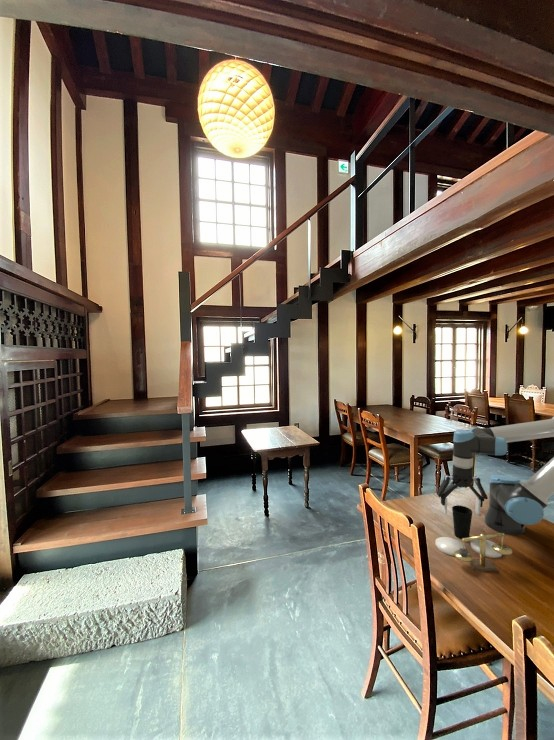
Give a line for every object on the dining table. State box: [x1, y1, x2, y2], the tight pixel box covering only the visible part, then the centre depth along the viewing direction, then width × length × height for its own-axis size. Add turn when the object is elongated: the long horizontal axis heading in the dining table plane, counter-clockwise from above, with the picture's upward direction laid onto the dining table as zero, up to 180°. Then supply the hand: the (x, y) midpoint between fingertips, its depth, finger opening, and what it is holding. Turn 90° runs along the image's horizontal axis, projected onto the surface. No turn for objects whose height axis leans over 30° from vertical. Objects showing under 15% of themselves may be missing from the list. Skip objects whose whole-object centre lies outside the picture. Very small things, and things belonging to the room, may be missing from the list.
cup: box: [451, 505, 473, 540], centre depth 138 cm, size 8×8×12 cm
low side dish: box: [435, 536, 467, 557], centre depth 131 cm, size 11×11×1 cm
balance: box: [454, 532, 513, 573], centre depth 119 cm, size 20×6×14 cm, turn 83°
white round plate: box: [470, 539, 503, 559], centre depth 129 cm, size 11×11×1 cm
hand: (461, 513), depth 138 cm, fingers open, 13 cm apart
